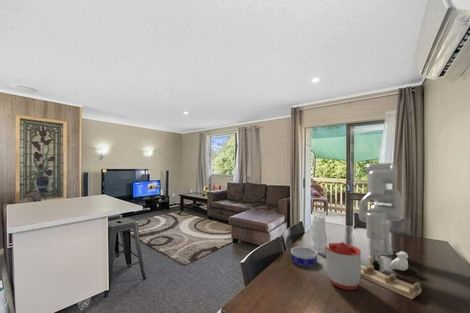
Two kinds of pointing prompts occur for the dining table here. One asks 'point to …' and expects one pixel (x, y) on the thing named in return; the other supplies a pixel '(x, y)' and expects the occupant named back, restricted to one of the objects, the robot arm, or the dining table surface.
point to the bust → (400, 261)
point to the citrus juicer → (343, 265)
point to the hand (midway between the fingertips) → (375, 268)
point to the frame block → (370, 260)
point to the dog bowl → (304, 256)
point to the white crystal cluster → (319, 234)
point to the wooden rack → (390, 282)
